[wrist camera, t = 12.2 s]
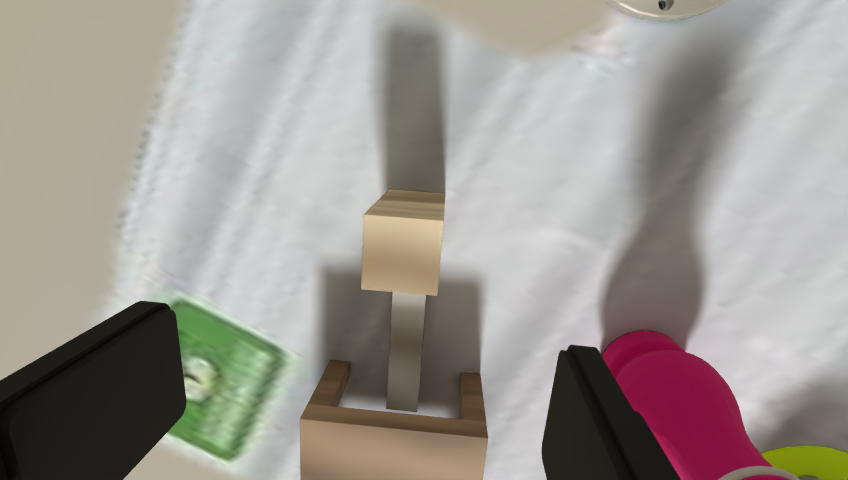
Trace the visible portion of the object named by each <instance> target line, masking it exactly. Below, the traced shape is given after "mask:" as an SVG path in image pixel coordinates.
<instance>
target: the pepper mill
mask: <svg viewBox="0 0 848 480" xmlns="http://www.w3.org/2000/svg"><path fill="white" fill-rule="evenodd" d="M602 358H603V359H604V361H605V363H606V364H607V366H608V368H609V369H610V371H611V373H612V375H613V376H614V378H615V380H616V381H617V383H618V385H619V386H620V388H621V390H622V391H623V393H624V395H625V397H626V398H627V400H628V402H629V403H630V405H631V407H632V408H633V410H635V411H637V412H639V413H640V414H641V415H642V417H643V418H644V420H645V421H646V423H647V424H648V426H649V428H650V429H651V431H652V433H653V434H654V436H655V438H656V439H657V441H658V443H659V444H660V446H661V447H662V449H663V451H664V452H665V454H666V456H667V457H668V459H669V461H670V462H671V464H672V466H673V467H674V469H675V470H676V472H677V474H678V475H679V477H680V479H681V480H800V479H799V478H798V477H796V476H795V475H793V474H792V473H790V472H788V471H785V470H782V469H779V468H775V467H773V466H772V465H771V464H770V463H769V462H768V461H767V460H766V459H765V458H764V457H763V456H762V455H761V453H760V452H759V451H758V450H757V449H756V448H755V446H754V445H753V444H752V443H751V441H750V439H749V438H748V436H747V434H746V431H745V428H744V425H743V422H742V418H741V414H740V410H739V406H738V404H737V401H736V399H735V397H734V395H733V393H732V391H731V389H730V387H729V386H728V384H727V383H726V382H725V380H724V379H723V378H722V377H721V376H720V374H719V373H718V372H717V371H716V370H715V369H714V368H713V367H712V366H711V365H710V364H709V363H707V362H706V361H704V360H703V359H701V358H699V357H697V356H695V355H693V354H690V353H686V352H685V351H684V350H683V349H682V348H681V347H680V346H679V345H677V344H676V343H675V342H674V341H673V340H672V339H671V338H669V337H668V336H666V335H664V334H661V333H658V332H654V331H636V332H632V333H628V334H626V335H624V336H622V337H619V338H617V339H616V340H615V341H614V342H612V343H611V344H610V345H609V346H608V347H607V349H606V350H605V352H604V353H603V355H602Z"/></svg>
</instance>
